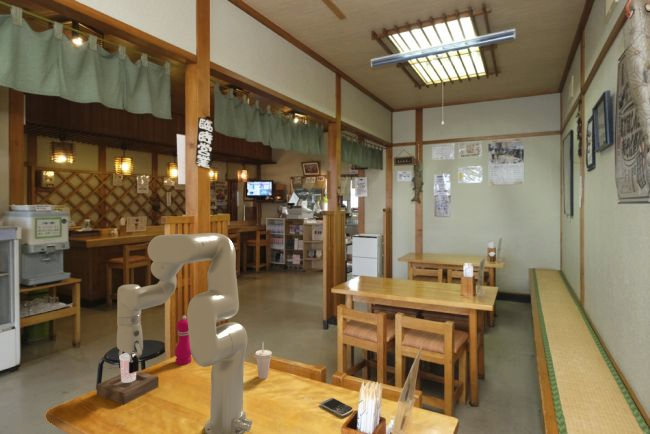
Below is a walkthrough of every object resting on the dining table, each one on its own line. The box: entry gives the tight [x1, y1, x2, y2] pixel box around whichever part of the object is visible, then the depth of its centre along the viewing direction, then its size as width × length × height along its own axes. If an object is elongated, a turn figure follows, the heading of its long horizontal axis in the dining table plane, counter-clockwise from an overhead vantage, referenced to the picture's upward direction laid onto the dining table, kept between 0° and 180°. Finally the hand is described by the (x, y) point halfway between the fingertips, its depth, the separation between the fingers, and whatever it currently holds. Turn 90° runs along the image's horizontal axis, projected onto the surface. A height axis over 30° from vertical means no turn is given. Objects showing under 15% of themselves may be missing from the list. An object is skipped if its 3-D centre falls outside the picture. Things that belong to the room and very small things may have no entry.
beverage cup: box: [118, 353, 136, 383], centre depth 136 cm, size 6×6×14 cm
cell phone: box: [319, 397, 354, 418], centre depth 128 cm, size 6×11×1 cm, turn 46°
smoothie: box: [254, 341, 273, 380], centre depth 150 cm, size 6×6×14 cm
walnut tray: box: [96, 370, 160, 405], centre depth 137 cm, size 14×14×4 cm
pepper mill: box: [174, 315, 192, 366], centre depth 163 cm, size 7×7×20 cm
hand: (128, 369), depth 136 cm, fingers closed on beverage cup, 6 cm apart
